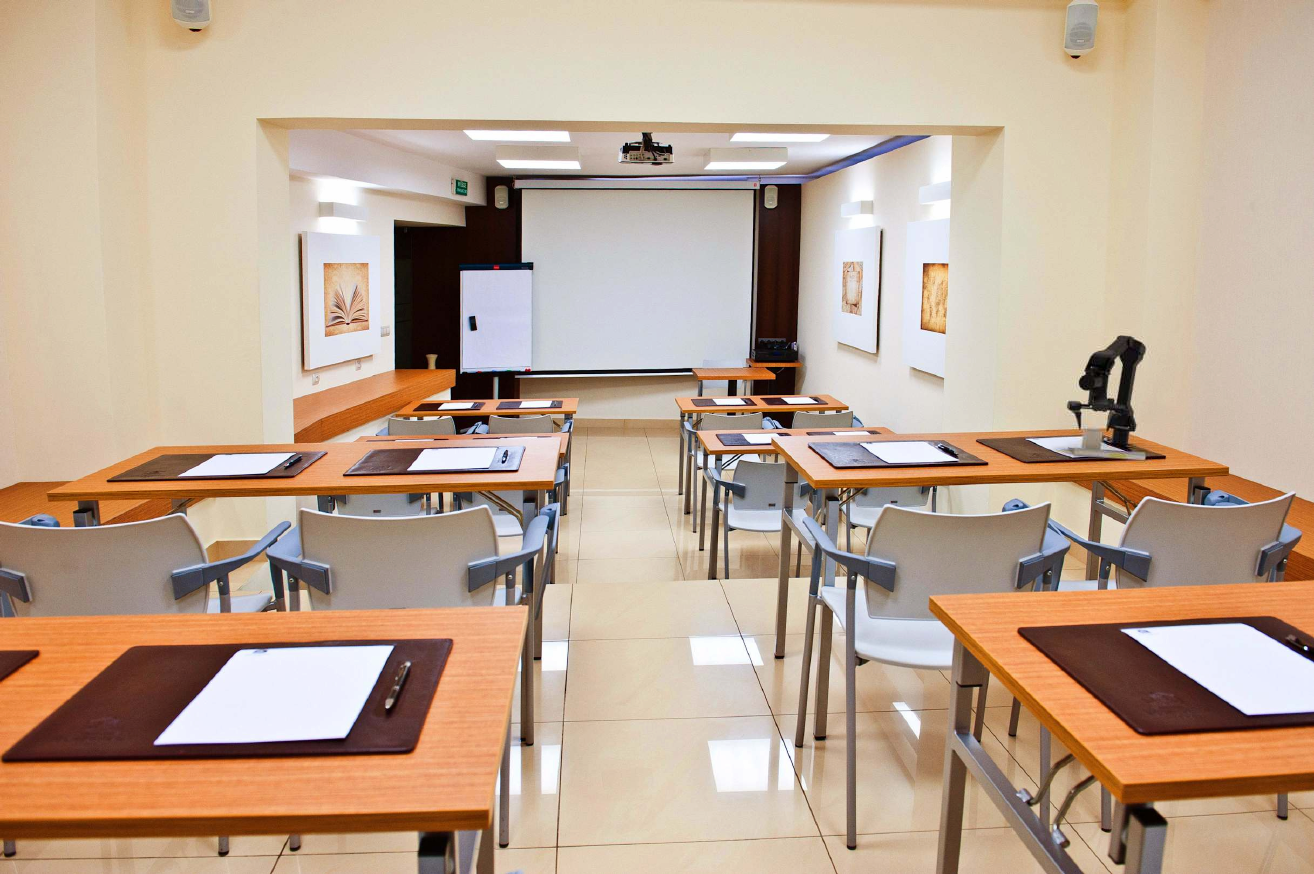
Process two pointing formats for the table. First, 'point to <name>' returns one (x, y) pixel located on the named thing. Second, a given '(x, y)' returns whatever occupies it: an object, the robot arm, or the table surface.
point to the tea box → (1092, 438)
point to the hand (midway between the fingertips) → (1093, 430)
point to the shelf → (1108, 453)
